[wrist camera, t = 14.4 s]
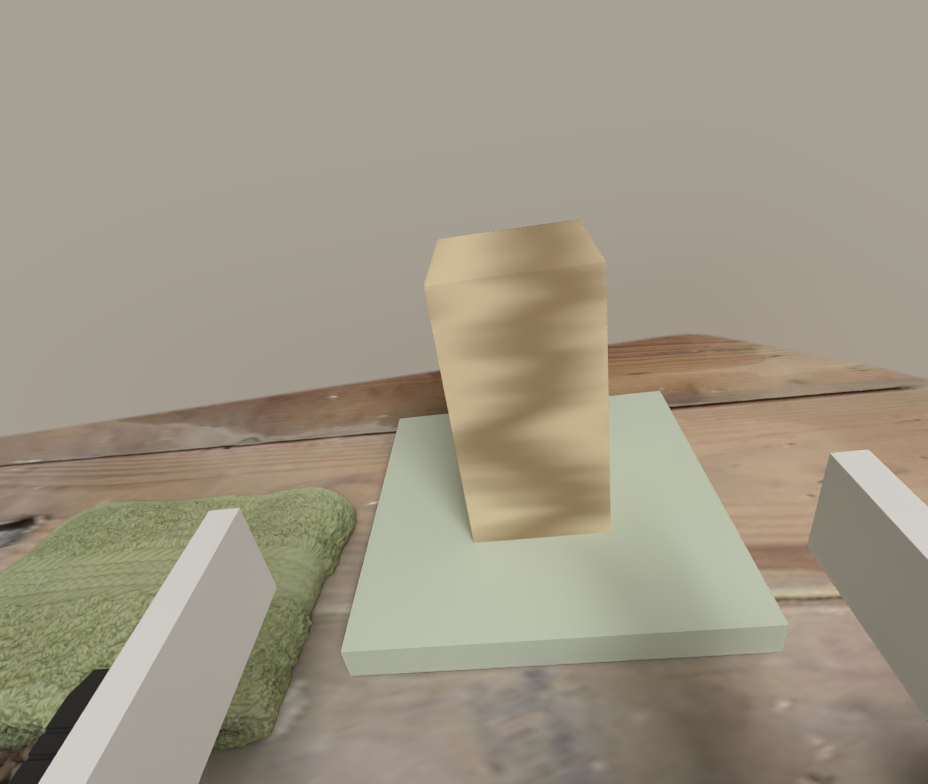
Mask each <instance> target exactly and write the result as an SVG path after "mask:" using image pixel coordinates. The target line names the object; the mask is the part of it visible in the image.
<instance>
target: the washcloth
mask: <svg viewBox="0 0 928 784" xmlns="http://www.w3.org/2000/svg"><path fill="white" fill-rule="evenodd" d="M233 508H240V509H241V512H242V514H243V516H244V518H245V520H246V522H247V524H248V527H249V529H250V531H251V533H252V535H253V537H254V539H255V541H256V544H257V546H258V548H259V550H260V552H261V554H262V556H263V558H264V561H265V563H266V565H267V567H268V569H269V571H270V573H271V575H272V578H273V580H274V582H275V584H276V586H277V588H276V591H275V593H274V596H273V598H272V601H271V603H270V606H269V608H268V611H267V613H266V616H265V618H264V621H263V623H262V626H261V628H260V631H259V633H258V636H257V638H256V641H255V643H254V646H253V648H252V651H251V653H250V656H249V658H248V661H247V663H246V666H245V668H244V671H243V673H242V676H241V678H240V681H239V683H238V686H237V688H236V691H235V693H234V696H233V698H232V701H231V703H230V706H229V708H228V711H227V713H226V716H225V718H224V721H223V723H222V726H221V728H220V731H219V733H218V736H217V738H216V741H215V743H214V746H213V748H219V749H222V750H231V749H235V748H238V749H240V748H244V747H245V746H246V745H247V744H249V743H251V742H253V741H258V740H260V739H262V738H264V737H267V736H268V735H269V734H270V733H271V732H272V731H273V726H274V724H275V722H276V718H277V716H278V714H279V712H278V709H279V707H280V705H281V703H282V702H283V700H284V697H285V693H286V691H287V687H288V685H289V683H290V678H291V671H292V667H293V666H294V665H295V664H296V663H297V661H298V655H299V653H300V651H301V648H302V645H303V644H304V643H305V642H306V639H307V638H308V637H309V628H310V626H311V625H312V622H311V621H310V617H309V615H310V614H311V612H312V611H313V609H314V606H315V602H316V600H317V599H318V597H319V594H320V591H321V586H322V583H323V581H325V580H326V579H327V578H328V577H329V575H330V574H332V573H333V572H334V570H335V566H336V565H337V564H338V562H339V558H338V556H339V555H340V554H341V552H342V548H343V546H344V544H345V543H346V542H347V541H348V538H349V536H350V535H351V531H352V530H353V528H354V527H355V524H356V520H355V517H356V510H355V508H354V507H353V506H352V504H351V503H350V502H348V501H347V500H346V499H345V498H343V497H342V496H341V495H339V494H338V493H336V492H334V491H332V490H329V489H324V488H320V487H312V488H299V489H292V490H286V491H280V492H276V493H274V494H267V495H258V496H239V495H220V496H215V497H205V498H193V499H185V500H174V501H146V502H142V501H122V502H111V503H105V504H100V505H97V506H94V507H91V508H89V509H86V510H84V511H82V512H80V513H78V514H76V515H74V516H72V517H71V518H69V519H68V520H66V521H64V522H63V523H61V524H60V525H59V526H58V527H57V528H55V529H54V530H53V531H52V532H51V533H50V534H49V535H48V536H47V537H46V538H45V539H44V540H43V541H41V542H40V543H39V544H38V545H37V546H36V547H35V548H34V549H33V550H32V551H30V552H29V553H28V554H27V555H25V556H24V557H23V558H22V559H21V560H19V561H18V562H16V563H15V564H13V565H12V566H10V567H9V568H7V569H6V570H4V571H3V572H1V573H0V751H4V750H8V749H16V750H20V749H24V748H25V747H27V746H28V745H30V744H32V743H34V744H35V743H36V742H37V740H38V739H39V737H40V736H41V734H44V733H45V732H46V727H47V725H48V724H49V722H50V721H51V719H52V718H53V716H54V715H55V713H56V712H57V710H58V709H59V707H60V706H61V704H62V703H63V701H64V700H65V698H66V697H67V696H68V695H69V694H70V693H71V692H72V691H73V690H74V689H75V688H76V687H77V686H78V685H79V684H80V683H81V682H82V681H83V680H84V679H85V678H86V677H87V676H88V675H89V674H90V673H91V672H92V671H93V670H94V669H108V668H111V666H112V665H113V663H114V662H115V660H116V658H117V657H118V655H119V654H120V652H121V650H122V649H123V647H124V646H125V644H126V642H127V641H128V639H129V638H130V636H131V634H132V633H133V631H134V630H135V628H136V626H137V625H138V623H139V622H140V620H141V618H142V617H143V615H144V614H145V612H146V610H147V609H148V607H149V606H150V604H151V602H152V601H153V599H154V598H155V596H156V594H157V593H158V591H159V590H160V588H161V587H162V585H163V583H164V582H165V580H166V579H167V577H168V575H169V574H170V572H171V571H172V569H173V567H174V566H175V564H176V563H177V561H178V559H179V558H180V556H181V555H182V553H183V551H184V550H185V548H186V547H187V545H188V543H189V542H190V540H191V539H192V537H193V535H194V534H195V532H196V531H197V529H198V527H199V526H200V524H201V523H202V521H203V519H204V518H205V516H206V515H207V513H208V511H211V510H222V509H233Z"/></svg>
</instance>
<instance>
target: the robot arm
mask: <svg viewBox="0 0 928 784" xmlns="http://www.w3.org/2000/svg"><path fill="white" fill-rule="evenodd" d="M807 547H808V548H809V550H810V551H811V553H812V554H813V555H814V557H815V558H816V560H817V561H818V563H819V564H820V566H821V567H822V569H823V570H824V571H825V573H826V574H827V576H828V577H829V579H830V580H831V582H832V583H833V584H834V586H835V587H836V589H837V590H838V592H839V593H840V595H841V596H842V598H843V599H844V600H845V602H846V603H847V605H848V606H849V608H850V609H851V611H852V612H853V613H854V615H855V616H856V618H857V619H858V621H859V622H860V624H861V625H862V627H863V628H864V629H865V631H866V632H867V634H868V635H869V637H870V638H871V640H872V641H873V642H874V644H875V645H876V647H877V648H878V650H879V651H880V653H881V654H882V656H883V657H884V658H885V660H886V661H887V663H888V664H889V666H890V667H891V669H892V670H893V671H894V673H895V674H896V676H897V677H898V679H899V680H900V682H901V683H902V684H903V686H904V687H905V689H906V690H907V692H908V693H909V695H910V696H911V698H912V699H913V700H914V702H915V703H916V705H917V706H918V708H919V709H920V711H921V712H922V713H923V715H924V716H925V718H926V719H927V721H928V507H927V506H926V505H925V504H924V503H923V502H922V501H921V500H920V499H919V498H918V497H917V496H916V495H915V494H914V493H913V492H912V491H911V490H910V489H909V488H908V487H907V486H906V485H905V484H904V483H902V482H901V481H900V480H899V479H898V478H897V477H896V476H895V475H894V474H893V473H892V472H891V471H890V470H889V469H888V468H887V467H886V466H885V465H884V464H883V463H882V462H881V461H880V460H879V459H878V458H877V457H876V456H875V455H874V454H873V453H872V452H870V451H869V450H859V451H848V452H838V453H830V455H829V459H828V463H827V467H826V472H825V476H824V480H823V484H822V488H821V492H820V496H819V500H818V504H817V508H816V512H815V516H814V520H813V524H812V528H811V532H810V536H809V540H808V545H807ZM276 588H277V586H276V584H275V582H274V580H273V578H272V575H271V573H270V571H269V569H268V567H267V565H266V563H265V561H264V558H263V556H262V554H261V552H260V550H259V548H258V546H257V544H256V541H255V539H254V537H253V535H252V533H251V531H250V529H249V527H248V524H247V522H246V520H245V518H244V516H243V514H242V512H241V509H240V508H233V509H222V510H211V511H208V513H207V515H206V516H205V518H204V519H203V521H202V523H201V524H200V526H199V527H198V529H197V531H196V532H195V534H194V535H193V537H192V539H191V540H190V542H189V543H188V545H187V547H186V548H185V550H184V551H183V553H182V555H181V556H180V558H179V559H178V561H177V563H176V564H175V566H174V567H173V569H172V571H171V572H170V574H169V575H168V577H167V579H166V580H165V582H164V583H163V585H162V587H161V588H160V590H159V591H158V593H157V594H156V596H155V598H154V599H153V601H152V602H151V604H150V606H149V607H148V609H147V610H146V612H145V614H144V615H143V617H142V618H141V620H140V622H139V623H138V625H137V626H136V628H135V630H134V631H133V633H132V634H131V636H130V638H129V639H128V641H127V642H126V644H125V646H124V647H123V649H122V650H121V652H120V654H119V655H118V657H117V658H116V660H115V662H114V663H113V665H112V666H111V668H108V669H94V670H93V671H92V672H91V673H90V674H89V675H88V676H87V677H86V678H85V679H84V680H83V681H82V682H81V683H80V684H79V685H78V686H77V687H76V688H75V689H74V690H73V691H72V692H71V693H70V694H69V695H68V696H67V697H66V698H65V700H64V701H63V703H62V704H61V706H60V707H59V709H58V710H57V712H56V713H55V715H54V716H53V718H52V719H51V721H50V722H49V724H48V725H47V727H46V732H45V733H44V734H41V736H40V737H39V739H38V740H37V742H36V743H35V745H34V746H33V748H32V749H31V751H30V752H29V754H28V759H27V760H26V761H23V763H22V764H21V766H20V767H19V769H18V770H17V772H16V773H15V775H14V776H13V778H12V779H11V781H10V782H9V784H198V783H199V781H200V778H201V776H202V773H203V771H204V768H205V766H206V763H207V761H208V758H209V756H210V753H211V751H212V748H213V746H214V743H215V741H216V738H217V736H218V733H219V731H220V728H221V726H222V723H223V721H224V718H225V716H226V713H227V711H228V708H229V706H230V703H231V701H232V698H233V696H234V693H235V691H236V688H237V686H238V683H239V681H240V678H241V676H242V673H243V671H244V668H245V666H246V663H247V661H248V658H249V656H250V653H251V651H252V648H253V646H254V643H255V641H256V638H257V636H258V633H259V631H260V628H261V626H262V623H263V621H264V618H265V616H266V613H267V611H268V608H269V606H270V603H271V601H272V598H273V596H274V593H275V591H276Z"/></svg>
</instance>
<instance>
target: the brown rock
mask: <svg viewBox="0 0 928 784" xmlns="http://www.w3.org/2000/svg"><path fill="white" fill-rule="evenodd" d="M34 745H35V744H34V743H32V744H30V745H28V746H27V747H25V748H24V749H20V750H16V749H8V750H4V751H0V784H9V782H10V781H11V779H12V778H13V776H14V775H15V773H16V772H17V770H18V769H19V767H20V766H21V764H22V763H23V761H26V760H27V759H28V754H29V752H30V751H31V749H32V748H33V746H34Z"/></svg>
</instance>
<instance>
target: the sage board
mask: <svg viewBox="0 0 928 784" xmlns="http://www.w3.org/2000/svg"><path fill="white" fill-rule="evenodd" d="M608 399H609V455H610V511H611V532H603V533H591V534H579V535H566V536H554V537H542V538H529V539H517V540H504V541H492V542H480V543H474V541H473V536H472V531H471V526H470V521H469V516H468V511H467V505H466V500H465V495H464V490H463V485H462V480H461V475H460V469H459V464H458V459H457V454H456V449H455V444H454V438H453V433H452V428H451V423H450V418H449V414H439V415H430V416H421V417H411V418H402V419H400V420H399V424H398V428H397V432H396V436H395V440H394V444H393V448H392V452H391V456H390V460H389V463H388V467H387V471H386V475H385V479H384V483H383V487H382V491H381V495H380V499H379V503H378V507H377V511H376V515H375V519H374V523H373V526H372V530H371V534H370V538H369V542H368V546H367V550H366V554H365V558H364V562H363V566H362V570H361V574H360V578H359V582H358V586H357V590H356V593H355V597H354V601H353V605H352V609H351V613H350V617H349V621H348V625H347V629H346V633H345V637H344V641H343V645H342V649H341V654H342V657H343V659H344V662H345V664H346V666H347V669H348V671H349V673H350V676H361V675H378V674H396V673H414V672H432V671H450V670H468V669H486V668H504V667H522V666H540V665H558V664H576V663H593V662H611V661H629V660H647V659H665V658H683V657H701V656H719V655H737V654H755V653H773V652H783V649H784V644H785V640H786V636H787V632H788V627H789V624H788V622H787V620H786V619H785V617H784V615H783V613H782V611H781V610H780V608H779V606H778V604H777V602H776V601H775V599H774V597H773V595H772V593H771V591H770V590H769V588H768V586H767V584H766V582H765V581H764V579H763V577H762V575H761V573H760V571H759V570H758V568H757V566H756V564H755V562H754V561H753V559H752V557H751V555H750V553H749V552H748V550H747V548H746V546H745V544H744V542H743V541H742V539H741V537H740V535H739V533H738V532H737V530H736V528H735V526H734V524H733V523H732V521H731V519H730V517H729V515H728V513H727V512H726V510H725V508H724V506H723V504H722V503H721V501H720V499H719V497H718V495H717V494H716V492H715V490H714V488H713V486H712V484H711V483H710V481H709V479H708V477H707V475H706V474H705V472H704V470H703V468H702V466H701V465H700V463H699V461H698V459H697V457H696V455H695V454H694V452H693V450H692V448H691V446H690V445H689V443H688V441H687V439H686V437H685V436H684V434H683V432H682V430H681V428H680V426H679V425H678V423H677V421H676V419H675V417H674V416H673V414H672V412H671V410H670V408H669V407H668V405H667V403H666V401H665V399H664V397H663V396H662V394H661V392H660V391H654V392H645V393H635V394H626V395H617V396H608Z"/></svg>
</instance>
